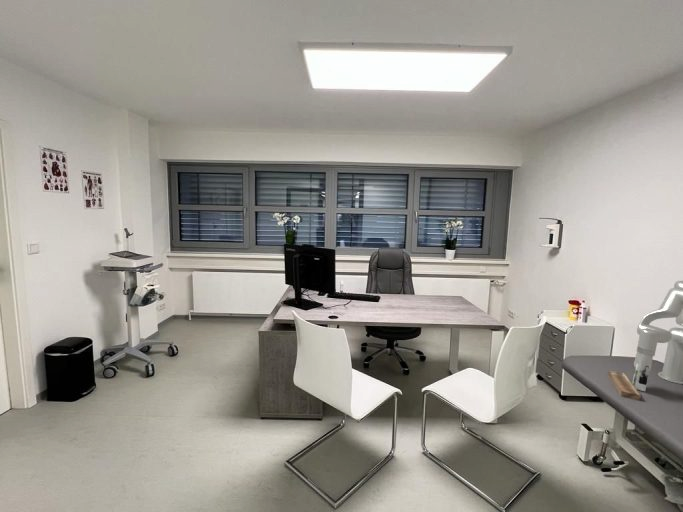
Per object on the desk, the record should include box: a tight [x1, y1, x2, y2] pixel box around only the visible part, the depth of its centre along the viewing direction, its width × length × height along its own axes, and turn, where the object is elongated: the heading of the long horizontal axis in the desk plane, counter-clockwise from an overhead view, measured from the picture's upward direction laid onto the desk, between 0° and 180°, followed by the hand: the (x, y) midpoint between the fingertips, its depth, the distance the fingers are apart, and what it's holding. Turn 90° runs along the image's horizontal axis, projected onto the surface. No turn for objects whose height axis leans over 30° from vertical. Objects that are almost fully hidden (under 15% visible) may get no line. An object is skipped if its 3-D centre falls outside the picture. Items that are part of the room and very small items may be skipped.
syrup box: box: [631, 364, 650, 392], centre depth 188 cm, size 6×6×14 cm
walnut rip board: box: [607, 370, 642, 402], centre depth 190 cm, size 8×26×3 cm, turn 154°
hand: (640, 380), depth 188 cm, fingers closed on syrup box, 6 cm apart
